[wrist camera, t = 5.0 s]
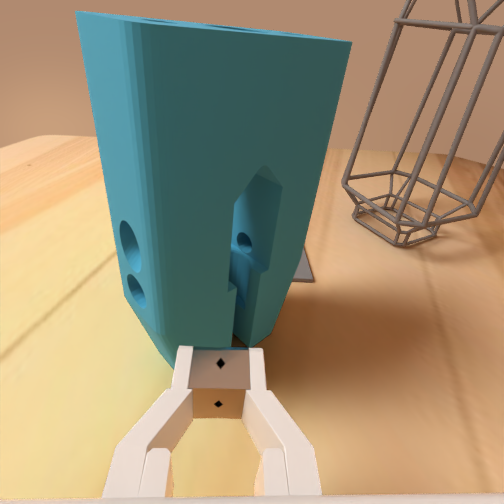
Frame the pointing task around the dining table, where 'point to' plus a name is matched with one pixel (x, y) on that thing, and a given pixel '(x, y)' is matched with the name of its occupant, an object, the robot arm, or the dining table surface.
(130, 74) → the block
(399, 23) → the geometric lantern
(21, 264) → the dining table surface
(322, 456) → the dining table surface
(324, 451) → the dining table surface
